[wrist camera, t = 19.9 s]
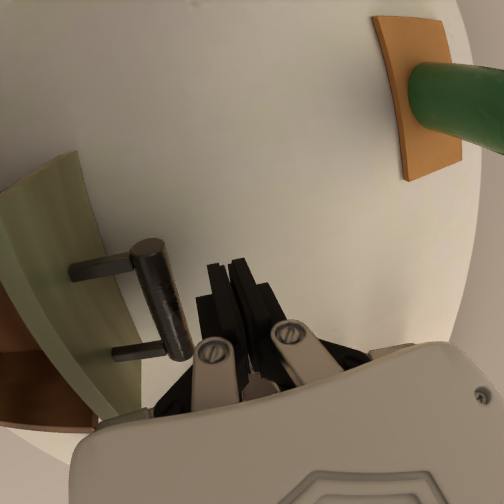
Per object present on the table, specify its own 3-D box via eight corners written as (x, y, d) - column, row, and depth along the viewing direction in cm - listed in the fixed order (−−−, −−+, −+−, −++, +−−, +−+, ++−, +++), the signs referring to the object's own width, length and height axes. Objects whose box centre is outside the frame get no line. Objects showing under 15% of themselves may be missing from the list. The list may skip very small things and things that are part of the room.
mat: (371, 17, 12) (377, 15, 12) (436, 21, 12) (441, 20, 12) (403, 179, 19) (408, 182, 18) (457, 158, 19) (462, 160, 18)
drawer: (155, 130, 12) (130, 161, 6) (198, 331, 19) (217, 430, 13) (-66, 214, 9) (-128, 275, 3) (8, 355, 16) (-14, 429, 10)
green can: (405, 55, 13) (575, 79, 3) (451, 69, 14) (588, 104, 4) (406, 127, 16) (566, 193, 6) (450, 132, 17) (580, 190, 7)
